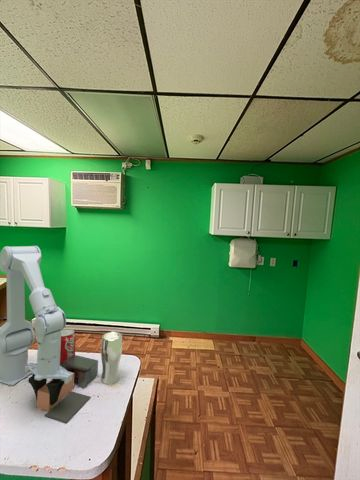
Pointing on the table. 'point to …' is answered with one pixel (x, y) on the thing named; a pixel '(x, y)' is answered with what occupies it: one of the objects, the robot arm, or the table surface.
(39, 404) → the salmon orange block
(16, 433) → the table surface
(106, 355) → the beer glass
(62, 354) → the soda can
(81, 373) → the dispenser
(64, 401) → the mat
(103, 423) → the table surface
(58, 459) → the table surface
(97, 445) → the table surface
